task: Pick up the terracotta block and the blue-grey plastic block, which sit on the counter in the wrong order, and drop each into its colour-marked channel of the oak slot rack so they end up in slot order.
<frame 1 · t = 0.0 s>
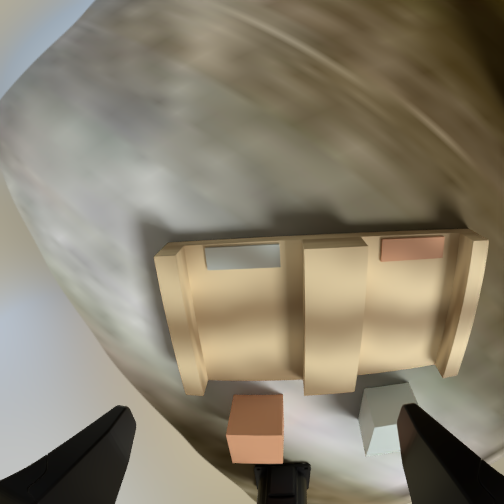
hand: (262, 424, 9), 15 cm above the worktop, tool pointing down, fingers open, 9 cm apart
terracotta block: (259, 410, 28), on the worktop
slot rack: (328, 310, 24), on the worktop
blue-grey block: (382, 401, 27), on the worktop
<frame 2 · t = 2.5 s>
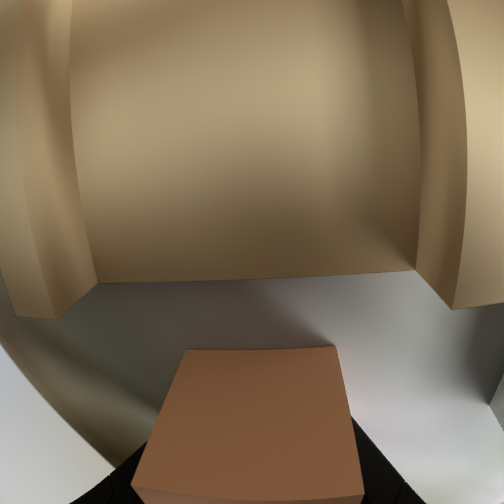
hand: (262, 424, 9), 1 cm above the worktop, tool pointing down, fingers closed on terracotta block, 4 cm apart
terracotta block: (263, 401, 10), on the worktop, touching gripper
slot rack: (456, 41, 6), on the worktop
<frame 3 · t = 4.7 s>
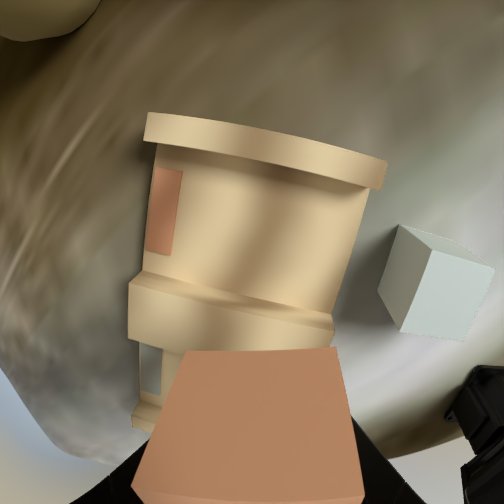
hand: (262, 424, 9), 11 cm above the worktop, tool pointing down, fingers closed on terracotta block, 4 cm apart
terracotta block: (264, 402, 10), point 10 cm above the worktop, touching gripper
slot rack: (231, 313, 21), on the worktop
blue-grey block: (417, 265, 19), on the worktop
squeeze bottle: (74, 3, 15), on the worktop
when the fingers open (3 cm above the worktop, at t = 6.8 s): terracotta block drops 1 cm, resting on slot rack.
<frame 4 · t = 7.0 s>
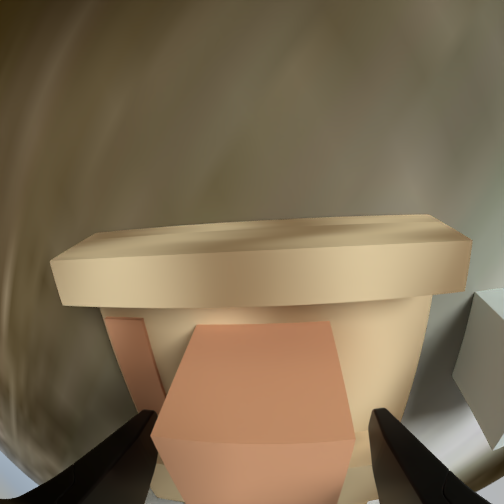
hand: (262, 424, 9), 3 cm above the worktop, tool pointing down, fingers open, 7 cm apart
terracotta block: (265, 374, 11), point 1 cm above the worktop, touching slot rack
slot rack: (272, 445, 14), on the worktop
blue-grey block: (498, 329, 11), on the worktop
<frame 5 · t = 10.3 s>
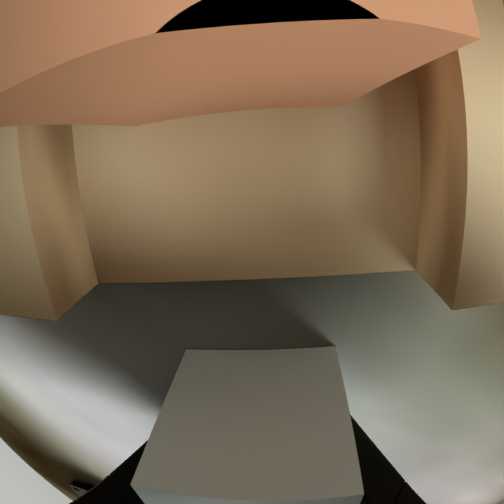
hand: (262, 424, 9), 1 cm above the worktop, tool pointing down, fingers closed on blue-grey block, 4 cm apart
terracotta block: (225, 16, 5), point 1 cm above the worktop, touching slot rack
slot rack: (38, 83, 7), on the worktop
blue-grey block: (263, 401, 10), on the worktop, touching gripper
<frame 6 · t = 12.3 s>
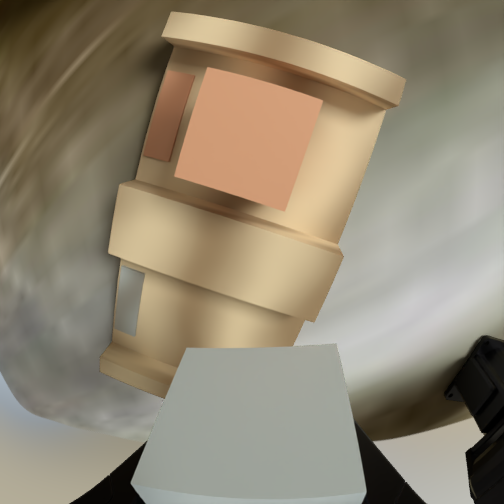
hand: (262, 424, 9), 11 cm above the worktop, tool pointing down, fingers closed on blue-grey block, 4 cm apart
terracotta block: (256, 139, 16), point 1 cm above the worktop, touching slot rack
slot rack: (226, 237, 19), on the worktop
blue-grey block: (264, 400, 10), point 10 cm above the worktop, touching gripper
when the fingers open (3 cm above the worktop, at t = 14.4 s): blue-grey block drops 1 cm, resting on slot rack.
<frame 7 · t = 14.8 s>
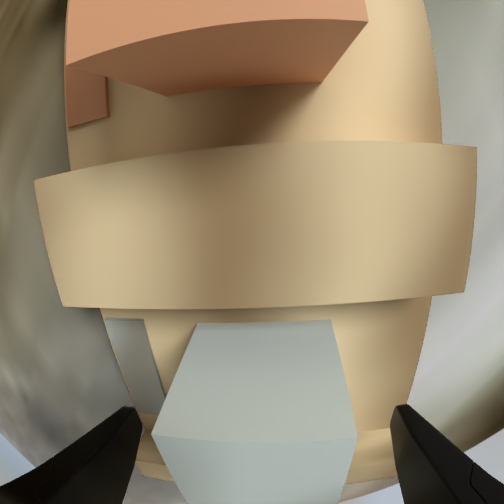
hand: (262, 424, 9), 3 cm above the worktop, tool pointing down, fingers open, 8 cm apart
terracotta block: (237, 18, 7), point 1 cm above the worktop, touching slot rack
slot rack: (254, 206, 10), on the worktop
blue-grey block: (266, 373, 11), point 1 cm above the worktop, touching slot rack
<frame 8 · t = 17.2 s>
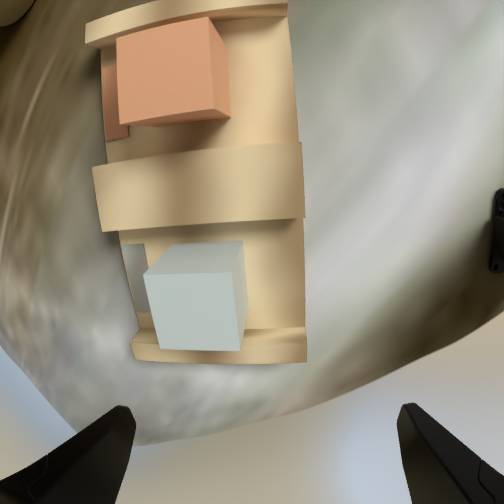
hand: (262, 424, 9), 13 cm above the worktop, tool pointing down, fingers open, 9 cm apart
terracotta block: (190, 85, 17), point 1 cm above the worktop, touching slot rack
slot rack: (202, 181, 20), on the worktop
blue-grey block: (211, 275, 21), point 1 cm above the worktop, touching slot rack
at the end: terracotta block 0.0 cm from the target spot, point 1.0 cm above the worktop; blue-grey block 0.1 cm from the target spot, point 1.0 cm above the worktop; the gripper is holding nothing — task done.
